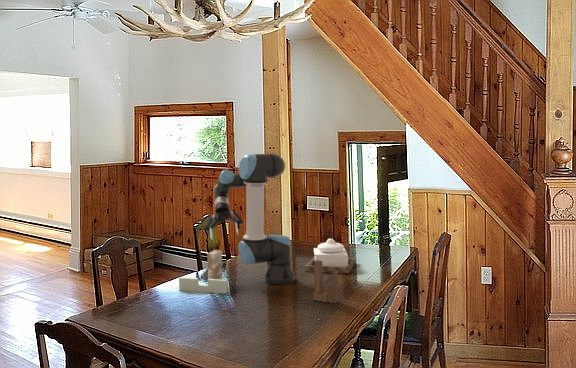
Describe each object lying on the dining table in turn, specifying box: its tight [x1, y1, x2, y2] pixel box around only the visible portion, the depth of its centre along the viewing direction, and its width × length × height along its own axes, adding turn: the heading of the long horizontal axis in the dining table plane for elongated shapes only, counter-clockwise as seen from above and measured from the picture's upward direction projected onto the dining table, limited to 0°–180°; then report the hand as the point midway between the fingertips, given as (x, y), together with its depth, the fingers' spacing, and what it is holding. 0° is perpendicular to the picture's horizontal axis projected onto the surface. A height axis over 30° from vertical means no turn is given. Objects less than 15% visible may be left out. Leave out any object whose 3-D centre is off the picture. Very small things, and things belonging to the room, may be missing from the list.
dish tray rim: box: [304, 255, 357, 274], centre depth 324 cm, size 24×24×3 cm
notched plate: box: [206, 249, 223, 280], centre depth 293 cm, size 4×10×16 cm, turn 165°
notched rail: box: [178, 276, 229, 294], centre depth 279 cm, size 24×2×6 cm, turn 75°
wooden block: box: [312, 260, 339, 304], centre depth 260 cm, size 4×11×18 cm, turn 61°
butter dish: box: [313, 238, 349, 267], centre depth 323 cm, size 18×18×16 cm
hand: (224, 236), depth 300 cm, fingers open, 13 cm apart
